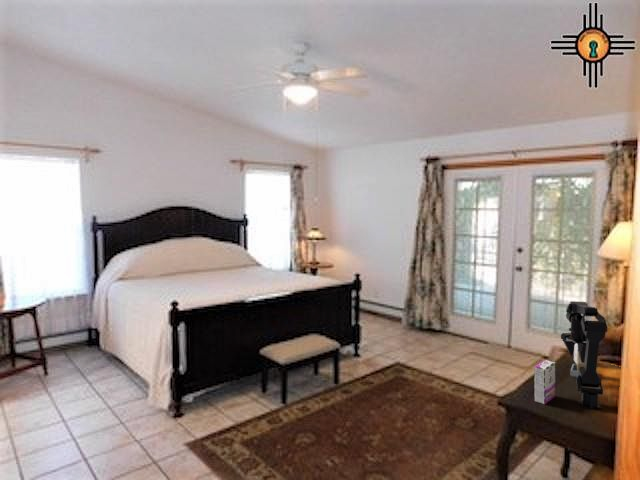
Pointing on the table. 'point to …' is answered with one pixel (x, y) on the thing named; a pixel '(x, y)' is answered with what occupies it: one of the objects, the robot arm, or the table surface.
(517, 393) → the table surface
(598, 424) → the table surface
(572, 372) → the tray
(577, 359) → the oak handle block
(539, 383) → the candy bar box
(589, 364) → the robot arm
